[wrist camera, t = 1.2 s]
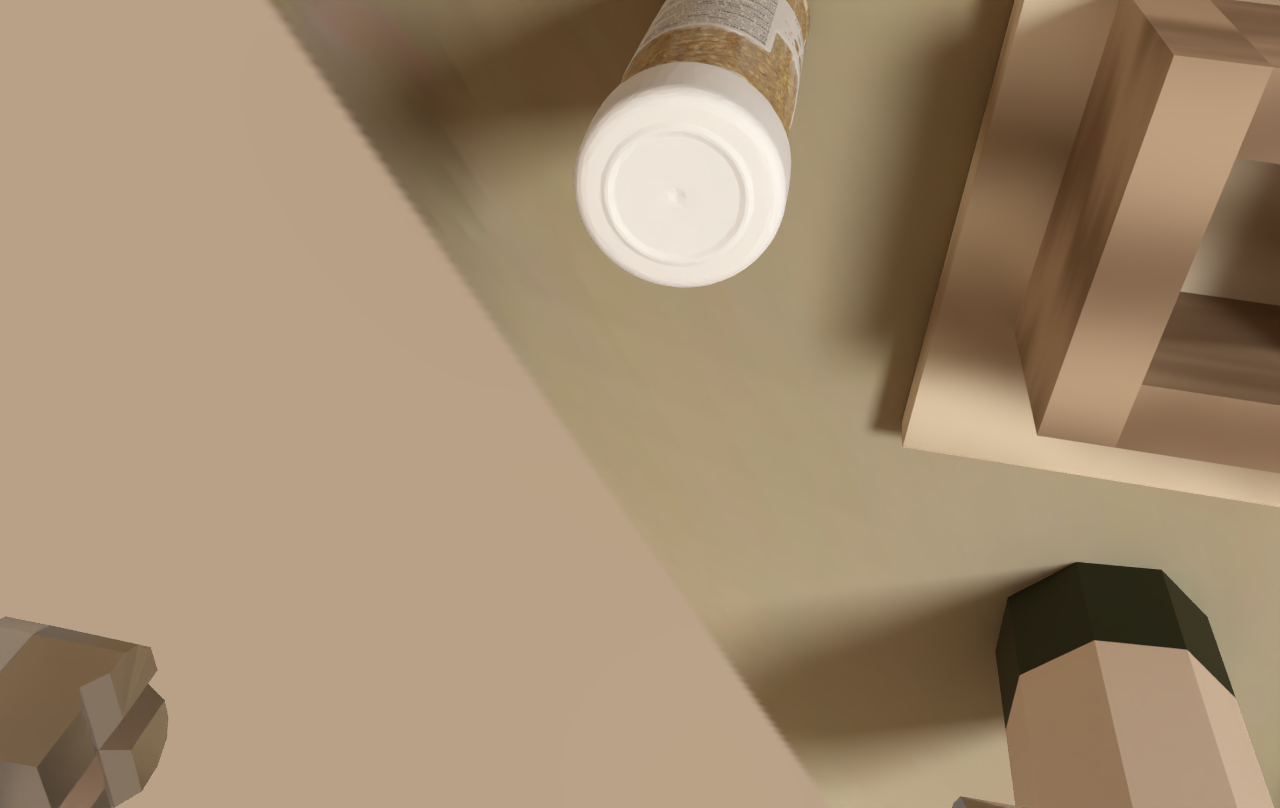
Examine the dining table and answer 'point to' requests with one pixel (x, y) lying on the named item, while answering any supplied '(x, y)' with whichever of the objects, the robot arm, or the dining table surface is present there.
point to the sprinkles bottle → (696, 142)
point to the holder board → (1003, 247)
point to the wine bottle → (1120, 697)
